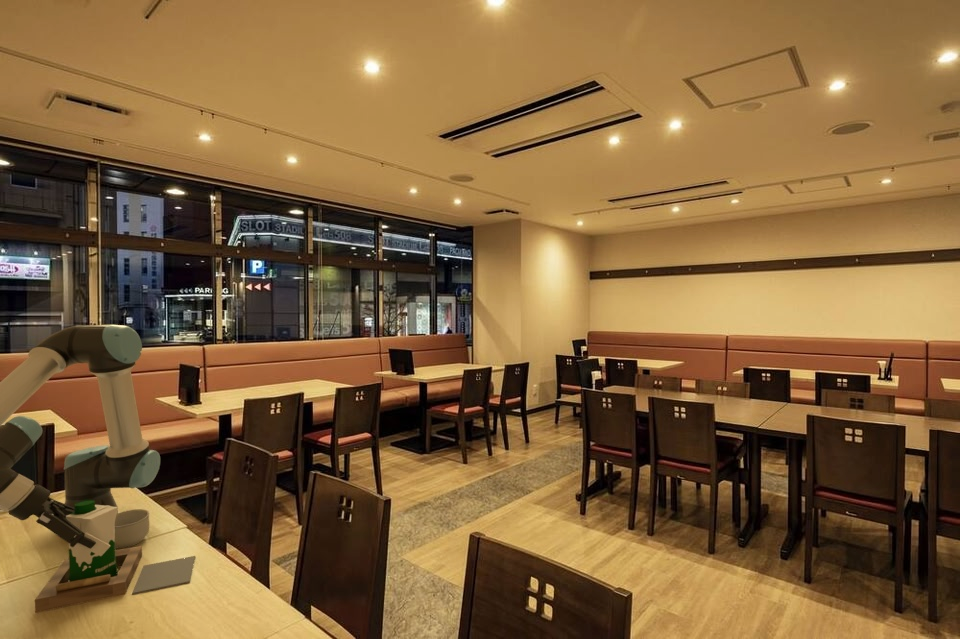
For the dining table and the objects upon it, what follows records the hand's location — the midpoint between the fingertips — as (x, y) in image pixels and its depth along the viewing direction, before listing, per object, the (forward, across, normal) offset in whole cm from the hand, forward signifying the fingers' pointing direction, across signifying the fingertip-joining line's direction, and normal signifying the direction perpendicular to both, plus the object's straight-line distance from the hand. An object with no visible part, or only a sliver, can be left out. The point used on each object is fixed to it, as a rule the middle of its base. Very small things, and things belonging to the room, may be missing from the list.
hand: (103, 540), depth 126 cm
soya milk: (+6, 0, -9) cm, 10 cm away
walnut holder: (+5, 0, -8) cm, 10 cm away
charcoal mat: (+16, +8, +2) cm, 18 cm away
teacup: (+11, -21, -3) cm, 24 cm away
